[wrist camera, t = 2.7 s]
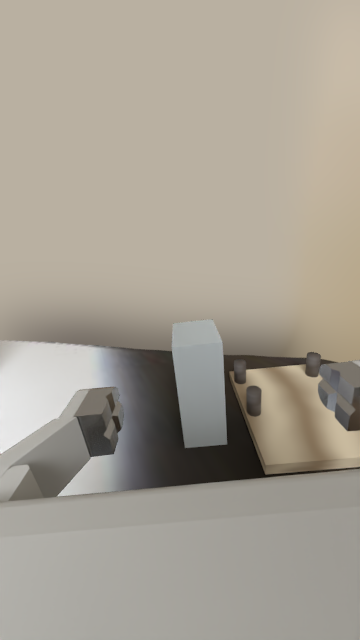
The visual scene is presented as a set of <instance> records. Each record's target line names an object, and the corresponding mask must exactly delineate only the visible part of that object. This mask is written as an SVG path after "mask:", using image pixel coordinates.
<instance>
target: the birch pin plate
mask: <svg viewBox="0 0 360 640" xmlns="http://www.w3.org/2000/svg"><path fill="white" fill-rule="evenodd" d="M320 358H321V356H320V354H318V353H314V352H310V353H308V354H307V360H306V364H304V365H294V366H283V367H273V368H262V369H252V370H246V361H245V360H242V359H237V360H235V361H234V371H231V372H229V376H230V381H231V384H232V386H233V389H234V392H235V394H236V397H237V400H238V402H239V405H240V408H241V410H242V413H243V416H244V418H245V421H246V424H247V427H248V429H249V432H250V435H251V437H252V440H253V443H254V445H255V448H256V451H257V453H258V456H259V459H260V461H261V464H262V467H263V470H264V472H265V475H267V474H279V473H291V472H303V471H315V470H327V469H339V468H352V467H360V431H347V430H346V429H345V428H344V427H343V426H342V425H341V424H340V423H339V422H338V420H337V419H336V418H335V412H333V411H331V410H329V409H327V408H326V407H325V406H324V405H323V403H322V402H321V400H320V397H319V394H318V384H319V382H320V381H321V380H322V379H323V378H322V377H321V376H320V375H319V366H320Z"/></svg>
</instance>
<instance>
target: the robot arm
mask: <svg viewBox="0 0 360 640" xmlns="http://www.w3.org/2000/svg"><path fill="white" fill-rule="evenodd" d="M319 375H320V376H321V377H322V378H323V379H322V380H321V381H320V382H319V384H318V394H319V397H320V400H321V402H322V403H323V405H324V406H325V407H326V408H327V409H329V410H331V411H333V412H335V418H336V419H337V420H338V422H339V423H340V424H341V425H342V426H343V427H344V428H345V429H346V430H347V431H360V360H355V361H348V362H342V363H333V364H325V365H322V366H321V367H320V372H319ZM119 396H120V395H119V391H118V388H117V387H105V388H93V389H83V390H79V391H77V392H76V393H75V395H74V396H73V398H72V399H71V401H70V402H69V404H68V405H67V407H66V408H65V409H64V411H63V412H62V414H61V415H60V417H59V418H58V419H54V420H52V421H50V422H49V423H47V424H46V425H44V426H43V427H41V428H40V429H38V430H37V431H35V432H34V433H32V434H31V435H29V436H28V437H26V438H25V439H23V440H22V441H20V442H19V443H17V444H16V445H14V446H13V447H11V448H10V449H8V450H7V451H5V452H4V453H2V454H1V455H0V640H360V469H356V470H345V471H334V472H323V473H312V474H300V475H290V476H279V477H268V478H257V479H246V480H235V481H224V482H214V483H203V484H192V485H181V486H170V487H159V488H148V489H137V490H126V491H115V492H105V493H94V494H83V495H72V496H61V497H57V495H58V494H59V493H60V492H61V491H62V490H63V489H64V488H65V486H66V485H67V484H68V483H69V482H70V481H71V480H72V479H73V477H74V476H75V475H76V474H77V473H78V472H79V471H80V470H81V469H82V467H83V466H84V465H85V464H86V463H87V462H88V461H89V460H90V457H94V456H102V455H110V454H114V451H115V448H116V445H117V442H118V435H117V433H118V432H119V431H120V430H121V429H122V425H123V418H124V414H123V407H122V404H121V403H120V402H118V398H119Z"/></svg>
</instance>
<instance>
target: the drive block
mask: <svg viewBox="0 0 360 640" xmlns="http://www.w3.org/2000/svg"><path fill="white" fill-rule="evenodd" d="M172 354H173V361H174V369H175V376H176V384H177V392H178V399H179V407H180V415H181V422H182V430H183V438H184V445H185V448H191V447H203V446H214V445H226V444H227V430H226V408H225V385H224V363H223V342H222V340H221V338H220V335H219V333H218V331H217V328H216V326H215V324H214V321H213V320H212V319H211V320H201V321H191V322H181V323H173V334H172Z"/></svg>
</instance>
